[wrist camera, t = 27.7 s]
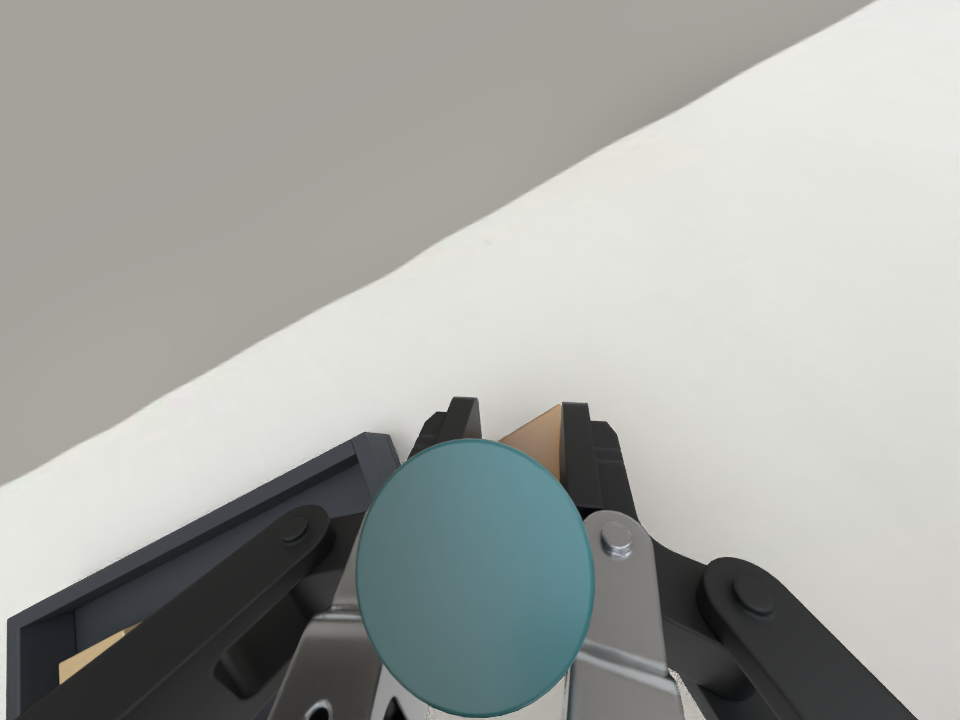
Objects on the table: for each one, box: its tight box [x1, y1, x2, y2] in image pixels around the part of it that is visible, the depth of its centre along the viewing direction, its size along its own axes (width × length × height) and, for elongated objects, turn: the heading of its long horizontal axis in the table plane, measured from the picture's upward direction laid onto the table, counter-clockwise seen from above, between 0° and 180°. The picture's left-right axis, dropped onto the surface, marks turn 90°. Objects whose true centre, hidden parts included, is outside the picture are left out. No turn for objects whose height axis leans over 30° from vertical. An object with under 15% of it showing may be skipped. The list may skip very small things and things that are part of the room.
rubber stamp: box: [355, 404, 595, 718], centre depth 9 cm, size 6×4×12 cm, turn 120°
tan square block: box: [59, 621, 143, 684], centre depth 17 cm, size 4×4×2 cm
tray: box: [6, 432, 401, 720], centre depth 17 cm, size 22×11×3 cm, turn 116°
